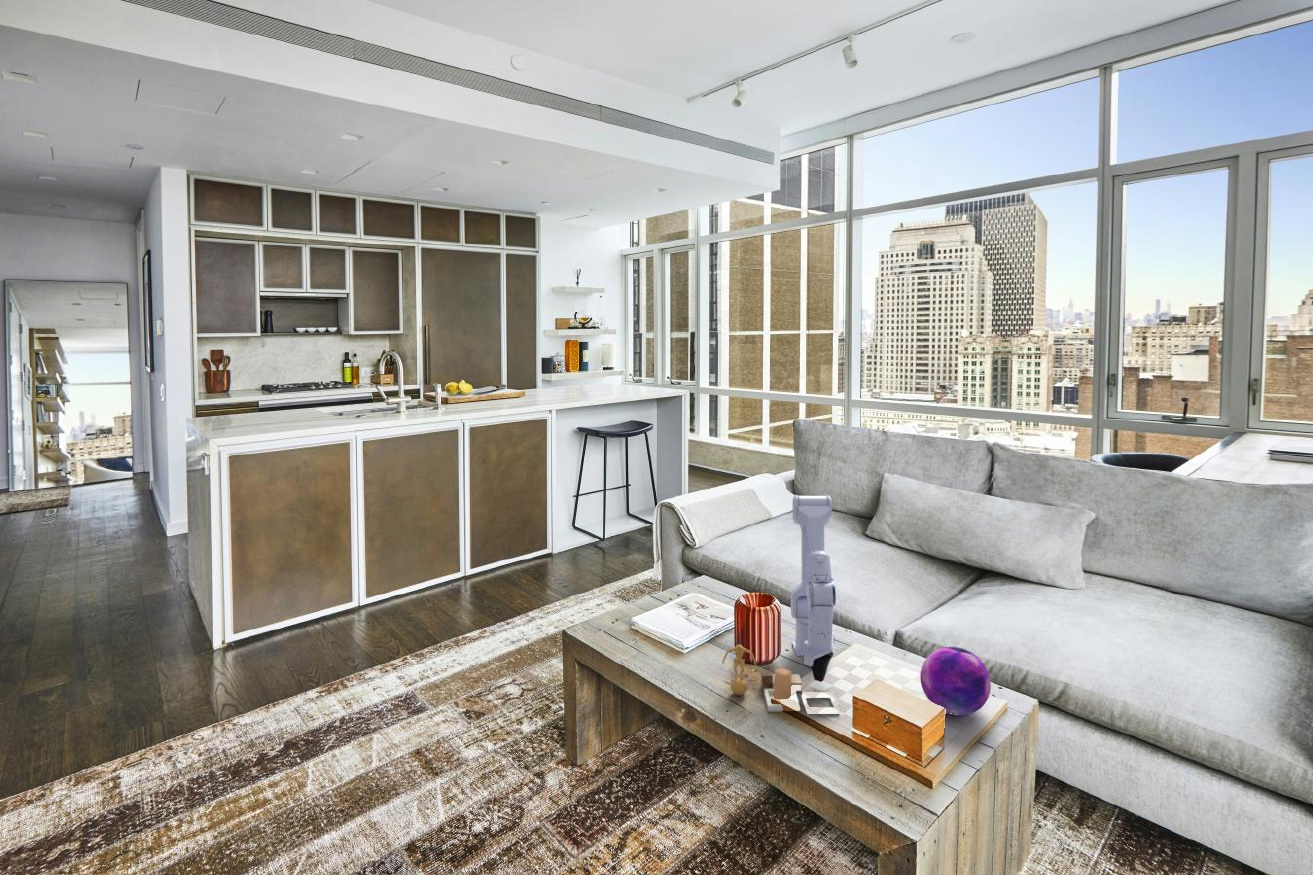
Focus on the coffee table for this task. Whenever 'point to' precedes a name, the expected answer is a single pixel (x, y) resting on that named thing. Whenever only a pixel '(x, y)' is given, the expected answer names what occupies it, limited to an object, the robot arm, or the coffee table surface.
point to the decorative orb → (955, 680)
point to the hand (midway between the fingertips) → (818, 679)
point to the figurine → (738, 683)
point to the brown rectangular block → (767, 680)
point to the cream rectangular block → (793, 680)
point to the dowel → (782, 684)
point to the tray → (770, 707)
